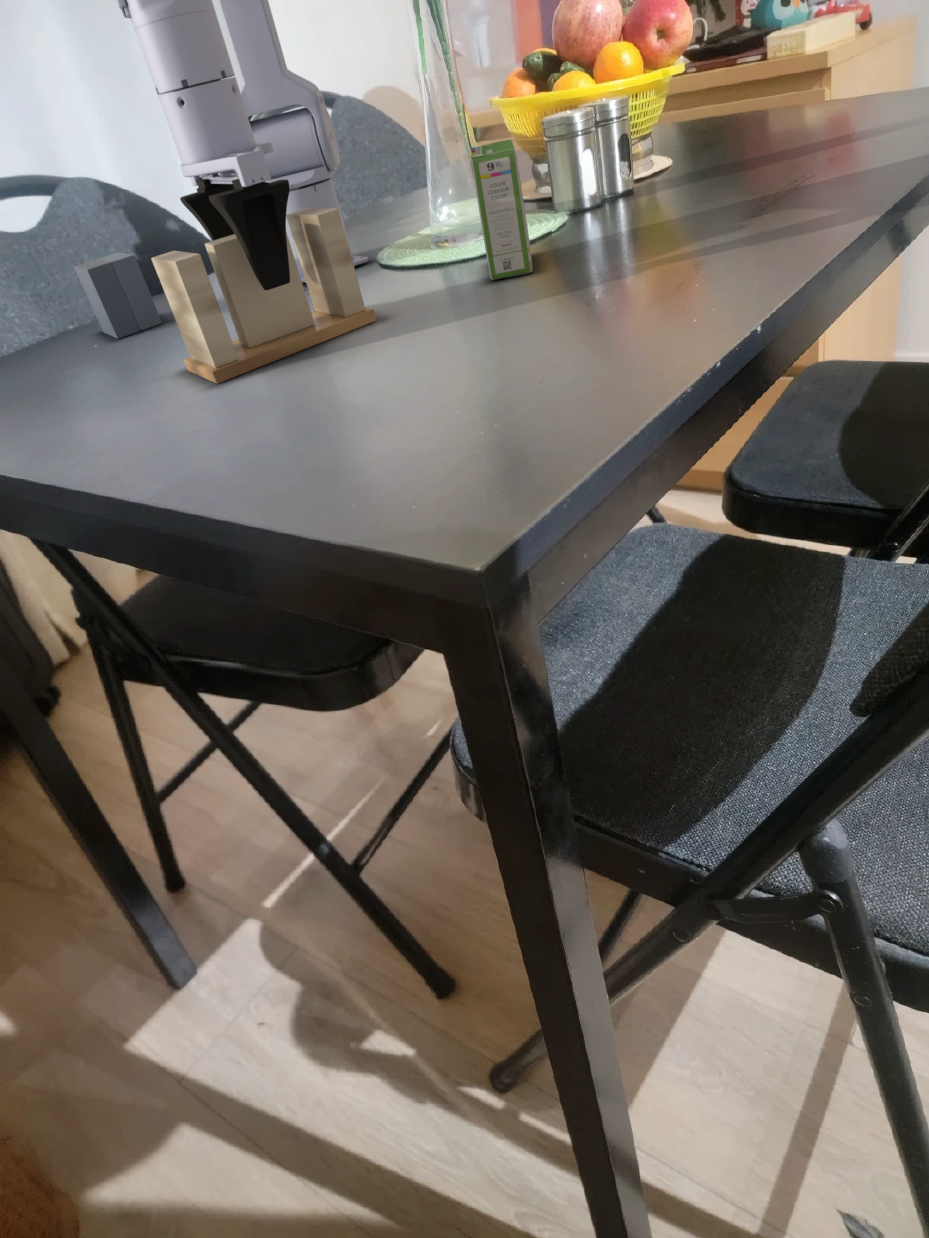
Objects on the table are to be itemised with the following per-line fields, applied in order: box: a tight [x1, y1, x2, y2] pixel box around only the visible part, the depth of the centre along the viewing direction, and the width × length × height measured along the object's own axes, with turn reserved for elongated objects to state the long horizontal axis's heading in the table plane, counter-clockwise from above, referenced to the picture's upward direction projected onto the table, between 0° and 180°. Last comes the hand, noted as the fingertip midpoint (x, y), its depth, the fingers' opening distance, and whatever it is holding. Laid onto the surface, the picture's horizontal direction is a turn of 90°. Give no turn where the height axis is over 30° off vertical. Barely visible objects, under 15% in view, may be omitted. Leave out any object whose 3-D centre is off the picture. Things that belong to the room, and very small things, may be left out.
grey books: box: [73, 251, 163, 340], centre depth 87 cm, size 6×5×7 cm
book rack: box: [150, 208, 377, 385], centre depth 67 cm, size 7×15×9 cm, turn 126°
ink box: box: [461, 102, 534, 281], centre depth 72 cm, size 7×4×13 cm, turn 179°
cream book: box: [204, 232, 315, 348], centre depth 67 cm, size 6×2×8 cm, turn 121°
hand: (261, 281), depth 67 cm, fingers open, 7 cm apart
